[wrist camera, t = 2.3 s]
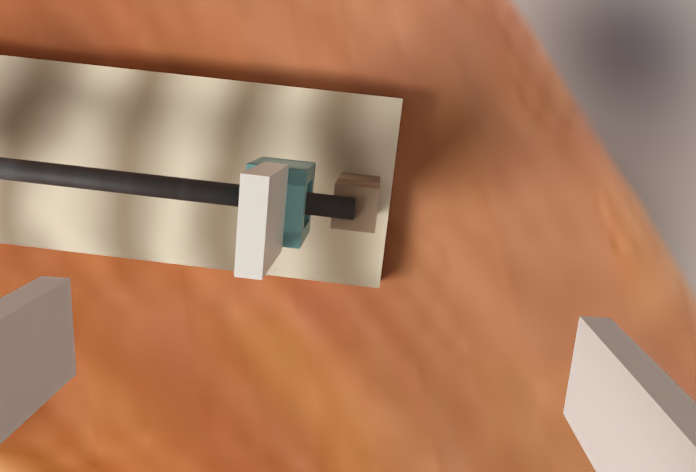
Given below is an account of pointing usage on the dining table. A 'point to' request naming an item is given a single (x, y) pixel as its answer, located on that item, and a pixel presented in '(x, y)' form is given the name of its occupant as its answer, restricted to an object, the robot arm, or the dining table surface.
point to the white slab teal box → (271, 212)
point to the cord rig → (188, 165)
